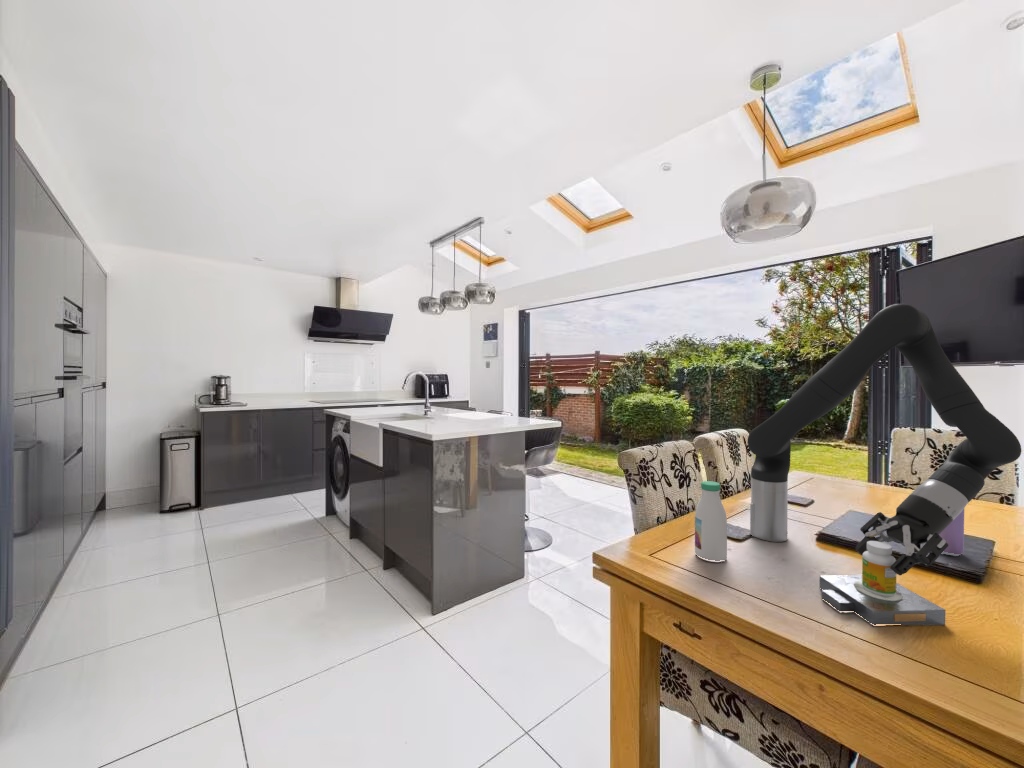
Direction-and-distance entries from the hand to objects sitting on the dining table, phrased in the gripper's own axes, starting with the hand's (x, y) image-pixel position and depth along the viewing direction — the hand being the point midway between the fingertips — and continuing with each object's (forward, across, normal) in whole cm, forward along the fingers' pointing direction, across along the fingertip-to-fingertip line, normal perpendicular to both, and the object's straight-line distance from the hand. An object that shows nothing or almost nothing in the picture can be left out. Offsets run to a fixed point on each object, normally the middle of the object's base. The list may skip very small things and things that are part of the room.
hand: (876, 562), depth 88 cm
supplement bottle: (+4, 0, +5) cm, 6 cm away
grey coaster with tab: (+7, 0, +6) cm, 9 cm away
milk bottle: (+23, -24, -10) cm, 35 cm away
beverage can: (-22, -24, +35) cm, 47 cm away
